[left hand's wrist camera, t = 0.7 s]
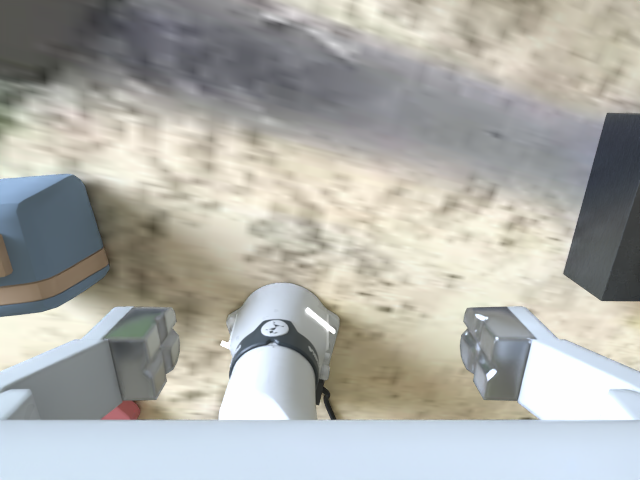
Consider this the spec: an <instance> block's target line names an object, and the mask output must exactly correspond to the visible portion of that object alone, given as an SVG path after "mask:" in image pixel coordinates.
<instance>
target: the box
mask: <svg viewBox="0 0 640 480" xmlns="http://www.w3.org/2000/svg"><path fill="white" fill-rule="evenodd" d="M563 274H564V275H565V276H567V277H568V278H570V279H571V280H573V281H574V282H575V283H577V284H578V285H580V286H581V287H582V288H584V289H585V290H587V291H588V292H589V293H591V294H592V295H594V296H595V297H597V298H598V299H599V300H601V301H640V113H607V115H606V119H605V122H604V126H603V130H602V133H601V137H600V141H599V144H598V148H597V152H596V156H595V159H594V163H593V167H592V170H591V174H590V178H589V181H588V185H587V189H586V192H585V196H584V200H583V203H582V207H581V211H580V214H579V218H578V222H577V226H576V229H575V233H574V237H573V240H572V244H571V248H570V251H569V255H568V259H567V262H566V266H565V270H564V273H563Z"/></svg>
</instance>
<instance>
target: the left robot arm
mask: <svg viewBox="0 0 640 480" xmlns="http://www.w3.org/2000/svg"><path fill="white" fill-rule="evenodd" d="M176 322H177V321H176V315H175V311H174V310H173V309H172V307H134V306H126V307H114V308H113V309H112V310H111V311H110V312H109V313H108V314H107V315H106V316H105V317H104V318H103V319H102V320H101V321H100V322H99V323H97V324H96V325H95V326H94V327H93V328H92V329H91V330H90V331H89V332H88V333H87V334H86V335H85V336H84V337H83V338H82V339H80V340H73V341H70V342H68V343H66V344H63V345H61V346H59V347H56V348H54V349H52V350H49V351H47V352H45V353H42V354H40V355H38V356H35V357H33V358H31V359H28V360H26V361H24V362H21V363H19V364H17V365H14V366H12V367H10V368H7V369H5V370H3V371H0V480H640V372H639V371H637V370H635V369H632V368H630V367H628V366H625V365H623V364H621V363H618V362H616V361H614V360H611V359H609V358H607V357H605V356H602V355H600V354H598V353H595V352H593V351H591V350H588V349H586V348H584V347H581V346H579V345H577V344H574V343H572V342H570V341H567V340H560V339H558V338H557V337H556V336H555V335H554V334H553V333H552V332H551V331H550V330H549V329H548V328H547V327H546V326H545V325H544V324H543V323H542V322H541V321H539V320H538V319H537V318H536V317H535V316H534V315H533V314H532V313H531V312H530V311H529V310H528V309H527V308H525V307H522V306H515V307H476V308H467V309H466V312H465V315H464V321H463V322H464V323H465V325H466V326H467V328H468V329H467V330H466V331H465V332H464V333H463V334H462V335H461V341H460V351H461V357H462V361H463V363H464V365H465V367H466V369H467V370H468V371H470V372H471V373H473V374H474V379H473V382H474V383H475V385H476V387H477V389H478V391H479V392H480V394H481V396H482V398H483V399H484V400H508V401H518V403H519V404H520V405H522V406H523V407H524V408H526V409H527V410H528V411H529V412H531V413H532V414H533V415H535V416H536V417H537V418H539V419H540V420H336V418H335V415H334V413H333V411H332V408H331V406H330V403H329V397H330V393H329V391H328V390H327V389H326V388H325V387H324V386H323V385H324V382H325V380H328V378H329V371H330V366H329V363H330V359H331V355H332V351H333V348H334V344H335V340H336V336H337V333H338V329H339V325H340V319H339V317H338V316H337V315H336V314H334V313H333V312H331V311H329V310H327V309H326V308H325V307H324V306H323V304H322V303H321V302H320V300H319V299H318V298H317V297H316V296H315V295H314V294H313V293H312V292H310V291H309V290H307V289H305V288H303V287H301V286H299V285H295V284H291V283H273V284H269V285H266V286H263V287H261V288H259V289H257V290H256V291H254V292H253V293H252V294H251V295H250V296H249V297H248V298H247V299H246V301H245V302H244V304H243V305H242V306H241V307H240V308H239V309H237V310H236V311H234V312H232V313H231V314H230V315H229V316H228V317H227V321H226V323H227V327H228V330H229V333H230V340H229V343H226V342H224V341H222V343H221V345H222V346H224V347H226V348H228V349H229V350H230V351H231V355H232V361H231V365H230V372H229V379H230V380H229V383H228V386H227V389H226V393H225V396H224V399H223V402H222V405H221V408H220V412H219V420H100V419H102V418H103V417H104V416H105V415H107V414H108V413H109V412H111V411H112V410H113V409H115V408H116V407H117V406H118V405H120V404H121V403H122V401H132V400H156V399H157V398H158V396H159V394H160V392H161V391H162V389H163V387H164V385H165V383H166V382H167V379H166V374H167V373H169V372H170V371H172V370H173V369H174V367H175V365H176V363H177V361H178V357H179V353H180V340H179V335H178V334H177V333H176V332H175V331H174V330H173V329H172V328H173V326H174V325H175V323H176ZM332 327H333V328H332ZM322 393H324V394H325V396H324V403H325V406H326V409H327V411H328V414H329V416H330V418H331V420H317V412H316V405H319V403H320V399H321V394H322Z"/></svg>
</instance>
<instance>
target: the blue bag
mask: <svg viewBox="0 0 640 480" xmlns="http://www.w3.org/2000/svg"><path fill="white" fill-rule="evenodd" d="M108 271H109V262H108V259H107V256H106V252H105V249H104V247H103V243H102V240H101V236H100V233H99V230H98V227H97V224H96V220H95V217H94V214H93V211H92V208H91V204H90V201H89V198H88V195H87V192H86V188H85V185H84V184H83V182H82V181H81V180H80V179H79V178H77V177H76V176H74V175H71V174H58V175H46V176H34V177H21V178H9V179H0V317H4V316H13V315H22V314H30V313H38V312H43V311H47V310H50V309H53V308H56V307H59V306H60V305H62V304H64V303H66V302H67V301H69V300H71V299H73V298H74V297H76V296H77V295H79V294H80V293H82V292H84V291H85V290H87V289H88V288H89V287H91V286H92V285H94V284H95V283H96V282H98V281H99V280H101V279H102V278H104V276H105V275H106V273H107V272H108Z"/></svg>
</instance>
